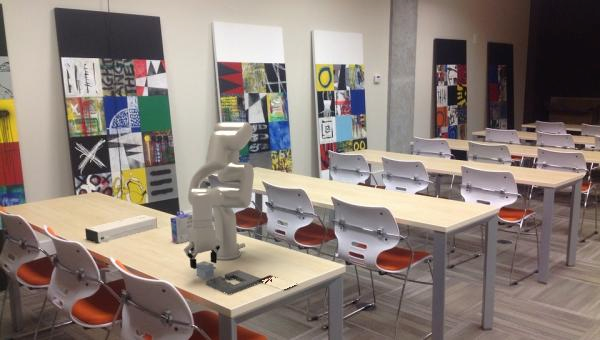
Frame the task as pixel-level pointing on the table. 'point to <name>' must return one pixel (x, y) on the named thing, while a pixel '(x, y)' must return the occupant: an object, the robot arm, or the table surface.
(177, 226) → the ink cartridge box
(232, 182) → the robot arm
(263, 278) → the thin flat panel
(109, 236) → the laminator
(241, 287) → the frame
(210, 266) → the servo
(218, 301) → the table surface
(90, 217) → the table surface
